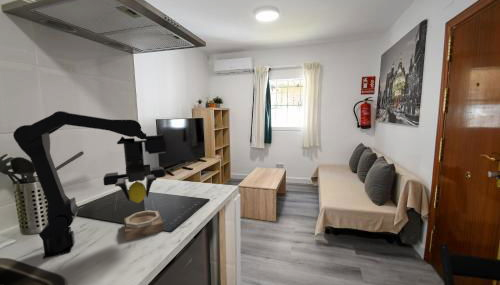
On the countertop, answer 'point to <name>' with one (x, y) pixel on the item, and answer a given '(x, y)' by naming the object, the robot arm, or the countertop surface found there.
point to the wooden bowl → (142, 224)
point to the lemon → (137, 192)
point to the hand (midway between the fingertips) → (138, 198)
